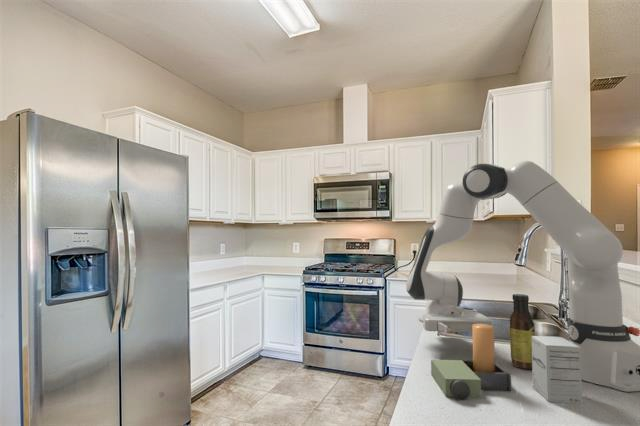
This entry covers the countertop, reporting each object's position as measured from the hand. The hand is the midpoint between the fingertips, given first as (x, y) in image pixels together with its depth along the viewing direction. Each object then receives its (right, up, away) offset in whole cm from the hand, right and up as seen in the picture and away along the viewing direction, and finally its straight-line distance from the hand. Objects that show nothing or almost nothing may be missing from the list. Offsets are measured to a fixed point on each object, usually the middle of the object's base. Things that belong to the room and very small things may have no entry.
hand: (465, 330), depth 99 cm
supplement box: (+13, -9, -19) cm, 25 cm away
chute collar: (0, -9, -12) cm, 15 cm away
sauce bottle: (+16, -10, -1) cm, 19 cm away
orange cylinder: (0, -9, -12) cm, 15 cm away
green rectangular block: (-9, -9, -14) cm, 19 cm away
